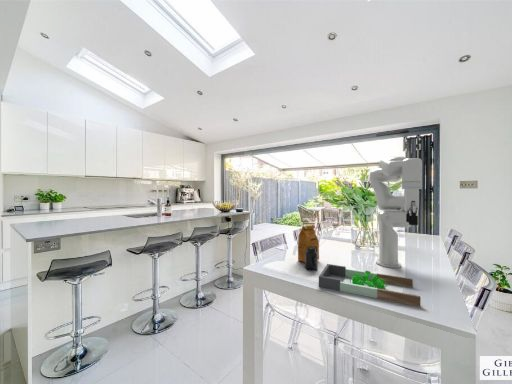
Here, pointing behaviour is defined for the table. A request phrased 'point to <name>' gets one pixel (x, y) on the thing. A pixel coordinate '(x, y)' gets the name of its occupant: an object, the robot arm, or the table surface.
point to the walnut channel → (398, 296)
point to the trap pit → (332, 277)
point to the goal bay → (358, 288)
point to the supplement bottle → (311, 258)
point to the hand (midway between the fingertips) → (411, 223)
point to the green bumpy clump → (375, 279)
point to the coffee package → (307, 241)
